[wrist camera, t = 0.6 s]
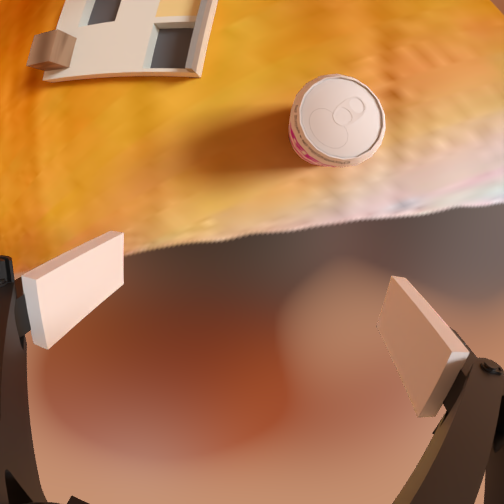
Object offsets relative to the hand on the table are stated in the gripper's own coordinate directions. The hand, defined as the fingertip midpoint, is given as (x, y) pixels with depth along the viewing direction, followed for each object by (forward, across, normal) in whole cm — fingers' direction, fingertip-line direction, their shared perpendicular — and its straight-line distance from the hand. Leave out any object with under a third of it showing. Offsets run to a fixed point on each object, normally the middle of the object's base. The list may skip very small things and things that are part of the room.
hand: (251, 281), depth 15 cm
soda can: (+27, +5, +10) cm, 29 cm away
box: (+27, -24, +24) cm, 43 cm away
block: (+24, -34, +20) cm, 47 cm away
